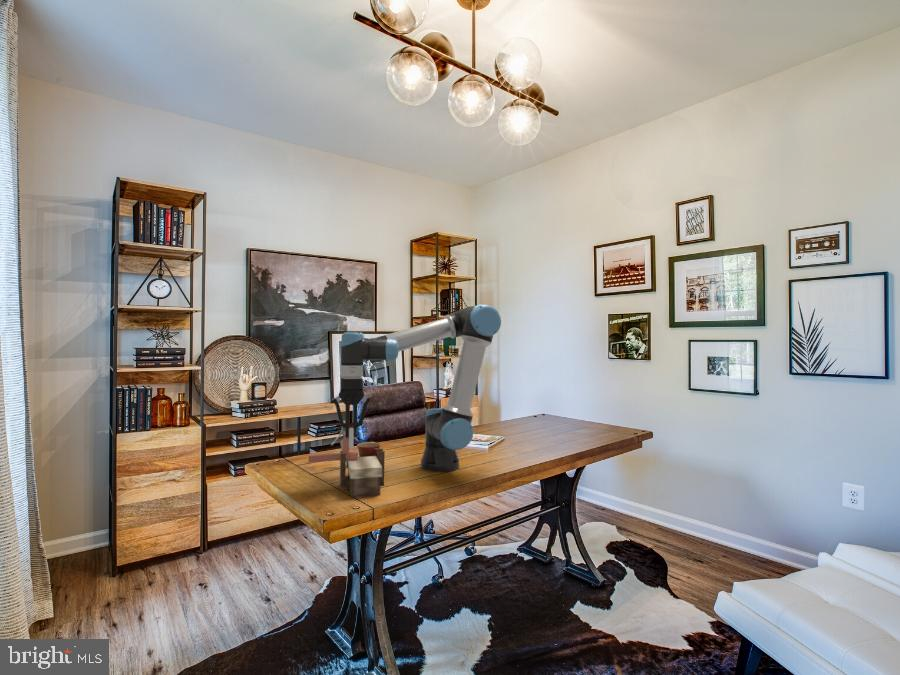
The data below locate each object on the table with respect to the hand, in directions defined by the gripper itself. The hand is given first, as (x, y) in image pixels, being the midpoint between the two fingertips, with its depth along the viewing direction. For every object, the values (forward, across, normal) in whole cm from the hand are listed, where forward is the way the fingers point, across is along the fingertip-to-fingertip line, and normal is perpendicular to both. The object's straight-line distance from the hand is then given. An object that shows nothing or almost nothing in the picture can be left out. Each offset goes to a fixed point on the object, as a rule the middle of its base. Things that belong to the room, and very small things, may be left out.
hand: (350, 446), depth 159 cm
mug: (+14, +9, +14) cm, 22 cm away
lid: (+7, +4, -4) cm, 10 cm away
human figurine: (+14, 0, +24) cm, 28 cm away
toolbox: (+13, +4, -4) cm, 15 cm away
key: (+4, -6, 0) cm, 7 cm away
